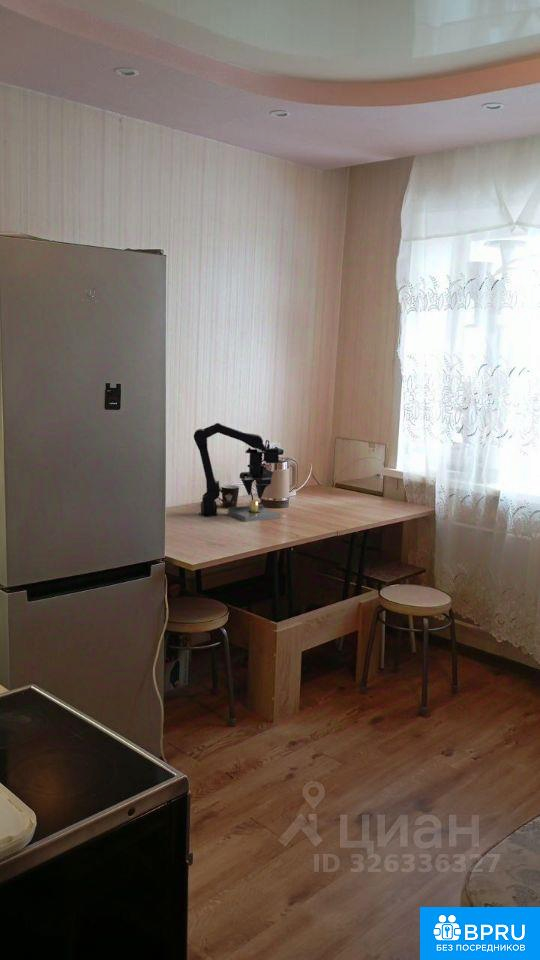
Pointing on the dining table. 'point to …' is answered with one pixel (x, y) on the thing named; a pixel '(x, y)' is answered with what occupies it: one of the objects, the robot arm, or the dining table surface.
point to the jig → (245, 515)
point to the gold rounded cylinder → (253, 506)
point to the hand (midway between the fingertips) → (254, 496)
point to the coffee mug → (229, 495)
